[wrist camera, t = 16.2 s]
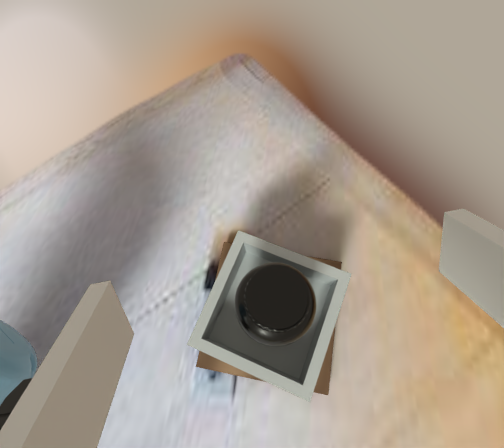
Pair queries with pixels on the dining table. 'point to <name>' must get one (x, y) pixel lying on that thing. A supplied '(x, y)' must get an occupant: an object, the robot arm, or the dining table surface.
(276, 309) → the supplement bottle
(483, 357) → the dining table surface
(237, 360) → the grey square open box
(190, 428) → the dining table surface
